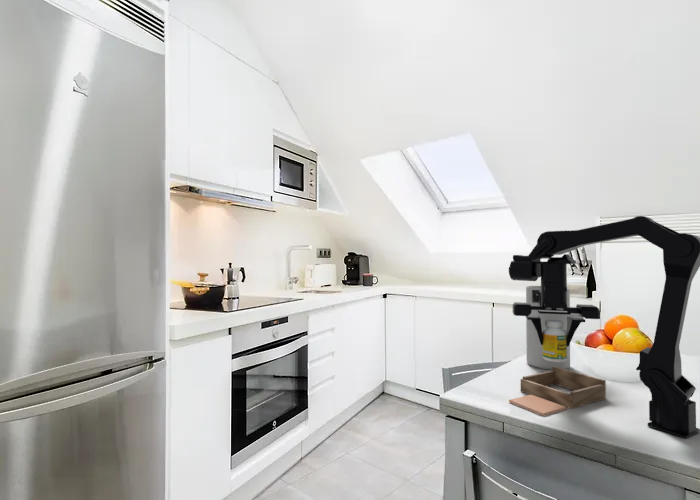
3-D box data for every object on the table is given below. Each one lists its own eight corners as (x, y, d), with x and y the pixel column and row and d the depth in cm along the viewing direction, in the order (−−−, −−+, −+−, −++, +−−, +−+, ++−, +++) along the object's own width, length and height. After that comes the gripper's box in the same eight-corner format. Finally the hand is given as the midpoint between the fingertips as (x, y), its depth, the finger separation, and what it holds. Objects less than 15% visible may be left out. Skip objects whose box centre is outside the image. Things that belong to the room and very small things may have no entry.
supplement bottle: (550, 355, 100) (549, 318, 101) (571, 360, 96) (570, 321, 96) (537, 358, 98) (537, 320, 98) (559, 363, 93) (558, 323, 93)
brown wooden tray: (605, 398, 96) (605, 380, 96) (571, 408, 90) (571, 389, 90) (554, 382, 108) (554, 366, 108) (520, 390, 102) (520, 373, 102)
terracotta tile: (566, 409, 89) (566, 406, 89) (543, 416, 85) (543, 413, 85) (531, 396, 97) (531, 394, 97) (509, 402, 93) (509, 399, 93)
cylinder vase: (537, 358, 134) (536, 285, 135) (576, 366, 125) (576, 287, 125) (519, 364, 126) (518, 287, 127) (560, 373, 117) (559, 289, 117)
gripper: (588, 281, 102) (588, 341, 101) (510, 279, 108) (511, 336, 107) (600, 283, 91) (601, 351, 91) (513, 282, 97) (514, 345, 97)
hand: (554, 345), depth 97 cm, fingers closed on supplement bottle, 5 cm apart
